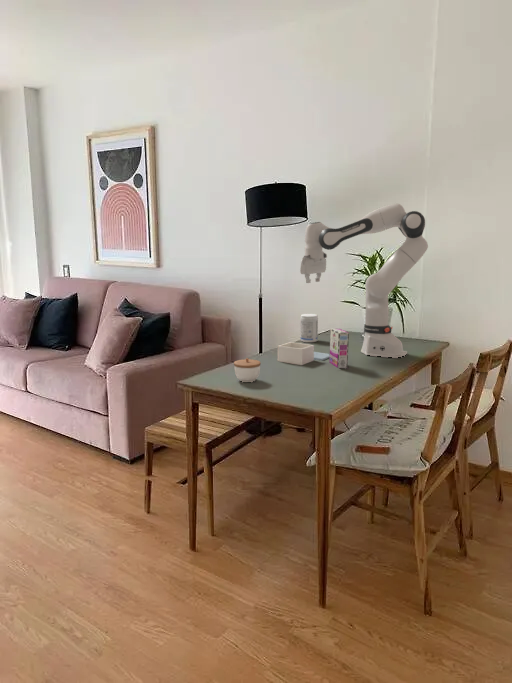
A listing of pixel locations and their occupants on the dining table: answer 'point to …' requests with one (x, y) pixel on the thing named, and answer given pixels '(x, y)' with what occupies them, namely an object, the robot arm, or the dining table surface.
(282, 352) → the tub
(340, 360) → the candy bar box
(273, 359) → the dining table surface
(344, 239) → the robot arm
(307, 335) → the supplement tub
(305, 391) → the dining table surface
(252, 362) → the lidded jar
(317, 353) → the lid
